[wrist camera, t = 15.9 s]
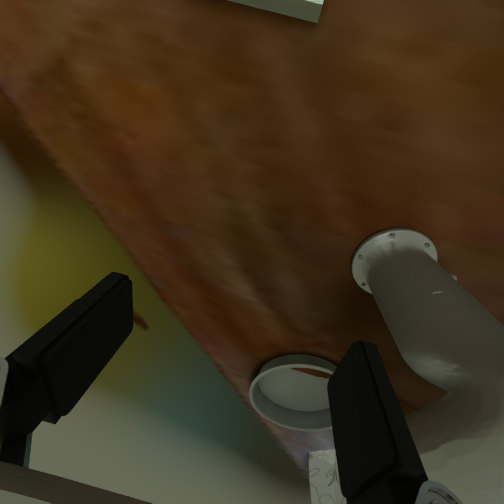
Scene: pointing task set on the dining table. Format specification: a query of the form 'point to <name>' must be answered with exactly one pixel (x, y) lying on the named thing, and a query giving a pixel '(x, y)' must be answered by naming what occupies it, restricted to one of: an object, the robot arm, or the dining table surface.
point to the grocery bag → (324, 478)
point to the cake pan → (293, 393)
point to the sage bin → (289, 7)
